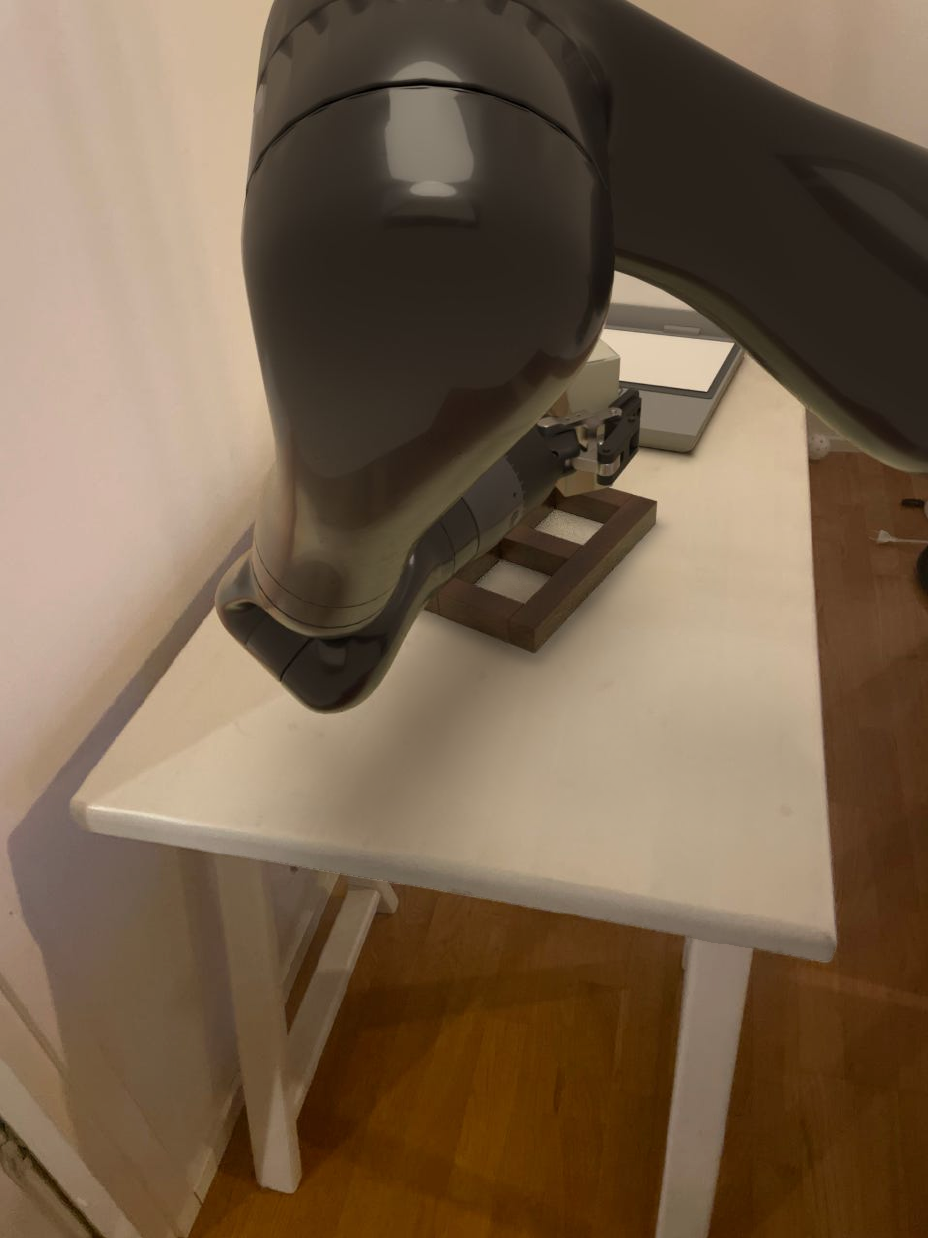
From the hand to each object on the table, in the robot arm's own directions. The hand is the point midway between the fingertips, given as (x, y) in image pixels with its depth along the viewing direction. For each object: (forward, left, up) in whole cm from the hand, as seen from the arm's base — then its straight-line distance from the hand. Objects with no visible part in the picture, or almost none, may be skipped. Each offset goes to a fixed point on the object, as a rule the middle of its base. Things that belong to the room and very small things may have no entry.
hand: (593, 391), depth 73 cm
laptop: (+8, -38, -18) cm, 43 cm away
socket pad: (+5, -1, -18) cm, 18 cm away
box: (+1, +2, -7) cm, 7 cm away
